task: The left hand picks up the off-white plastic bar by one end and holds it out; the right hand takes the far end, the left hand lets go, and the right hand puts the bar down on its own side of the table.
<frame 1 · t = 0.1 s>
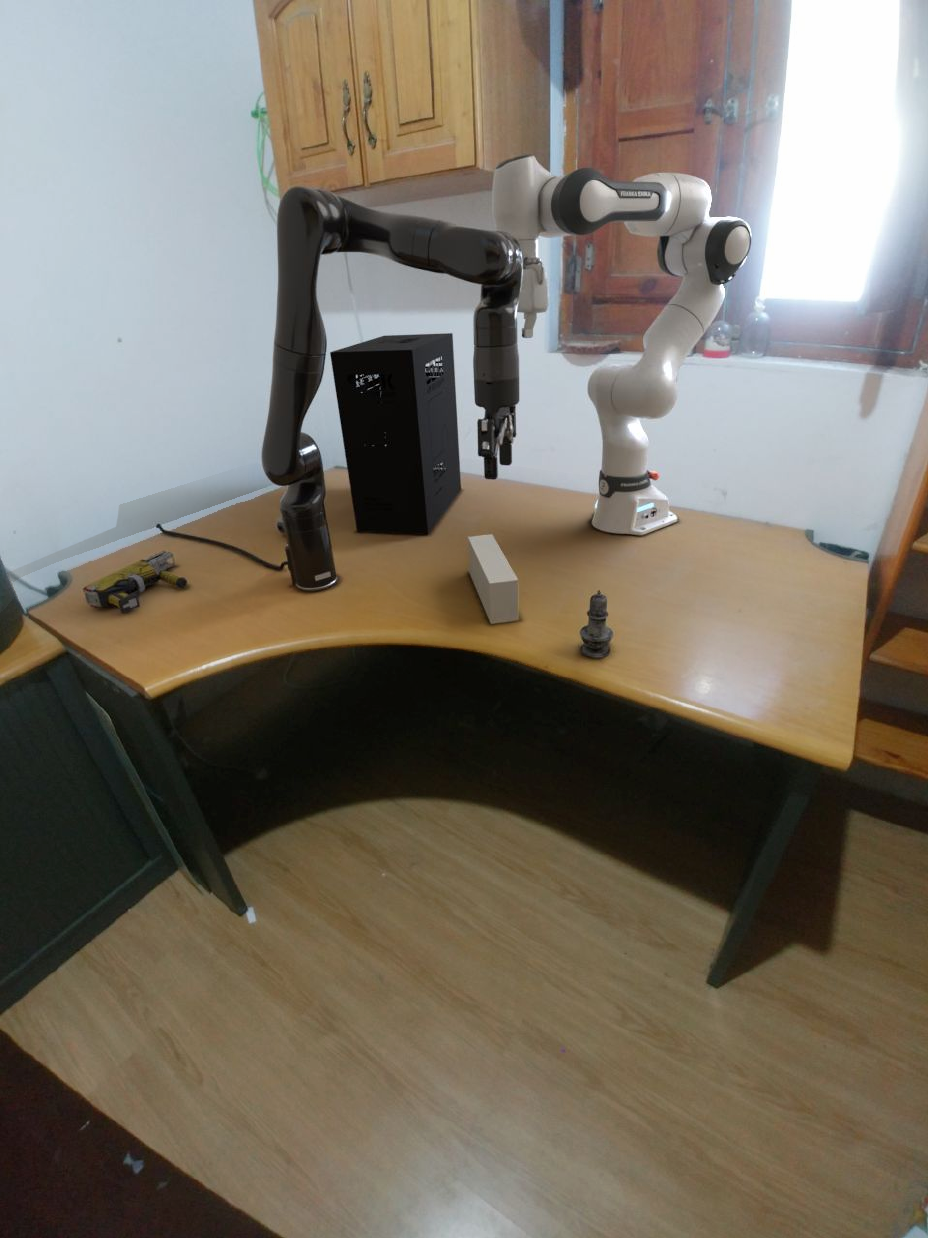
left hand: (498, 471, 107), 29 cm above the table, tool pointing down, fingers open, 8 cm apart
right hand: (516, 336, 125), 48 cm above the table, tool pointing down, fingers open, 8 cm apart
toy gun: (152, 590, 139), on the table
eyeball: (289, 534, 165), on the table
cardboard box: (413, 509, 178), on the table
salt shaker: (595, 650, 108), on the table
bar: (492, 594, 129), on the table
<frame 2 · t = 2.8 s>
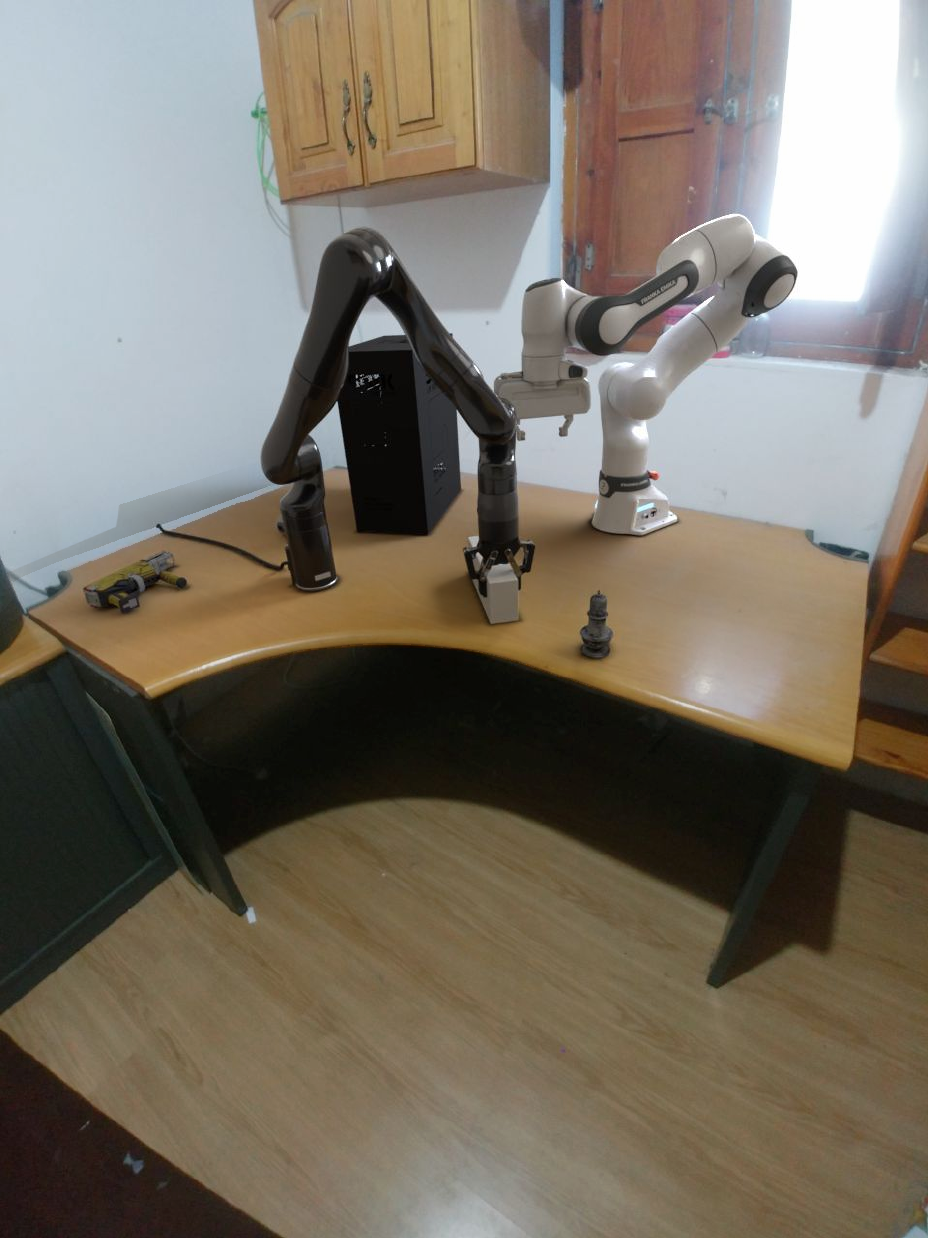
left hand: (500, 593, 119), 4 cm above the table, tool pointing down, fingers closed on bar, 5 cm apart
right hand: (542, 438, 131), 28 cm above the table, tool pointing down, fingers open, 8 cm apart
bar: (492, 594, 128), on the table, touching left hand
everything else where it was.
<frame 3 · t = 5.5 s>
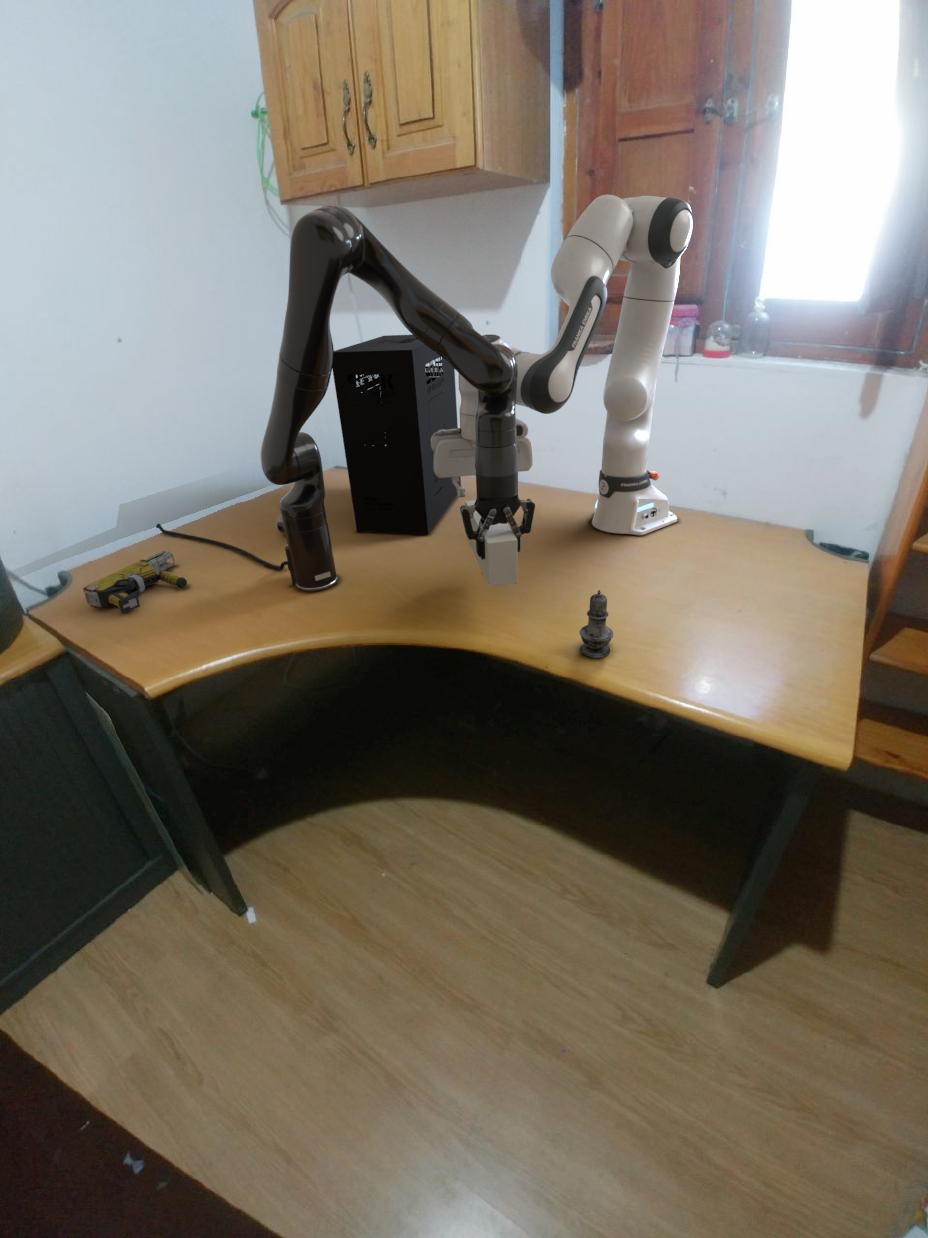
left hand: (498, 555, 115), 13 cm above the table, tool pointing down, fingers closed on bar, 5 cm apart
right hand: (483, 494, 126), 20 cm above the table, tool pointing down, fingers open, 8 cm apart
bar: (490, 559, 124), point 8 cm above the table, touching left hand
everything else where it was.
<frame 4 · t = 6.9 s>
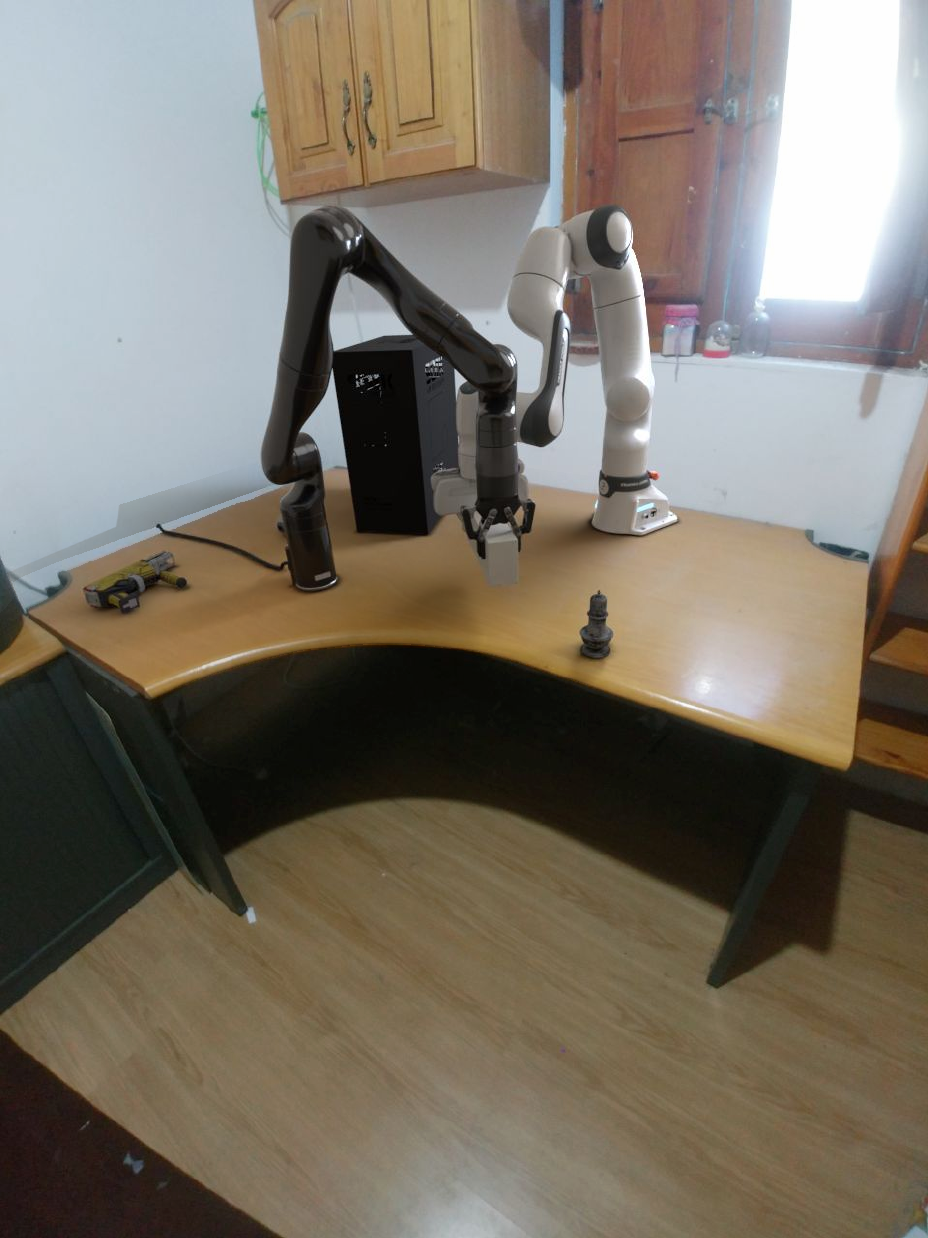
left hand: (499, 555, 115), 13 cm above the table, tool pointing down, fingers closed on bar, 5 cm apart
right hand: (482, 528, 130), 12 cm above the table, tool pointing down, fingers closed on bar, 5 cm apart
bar: (490, 559, 124), point 8 cm above the table, touching right hand, left hand
everything else where it was.
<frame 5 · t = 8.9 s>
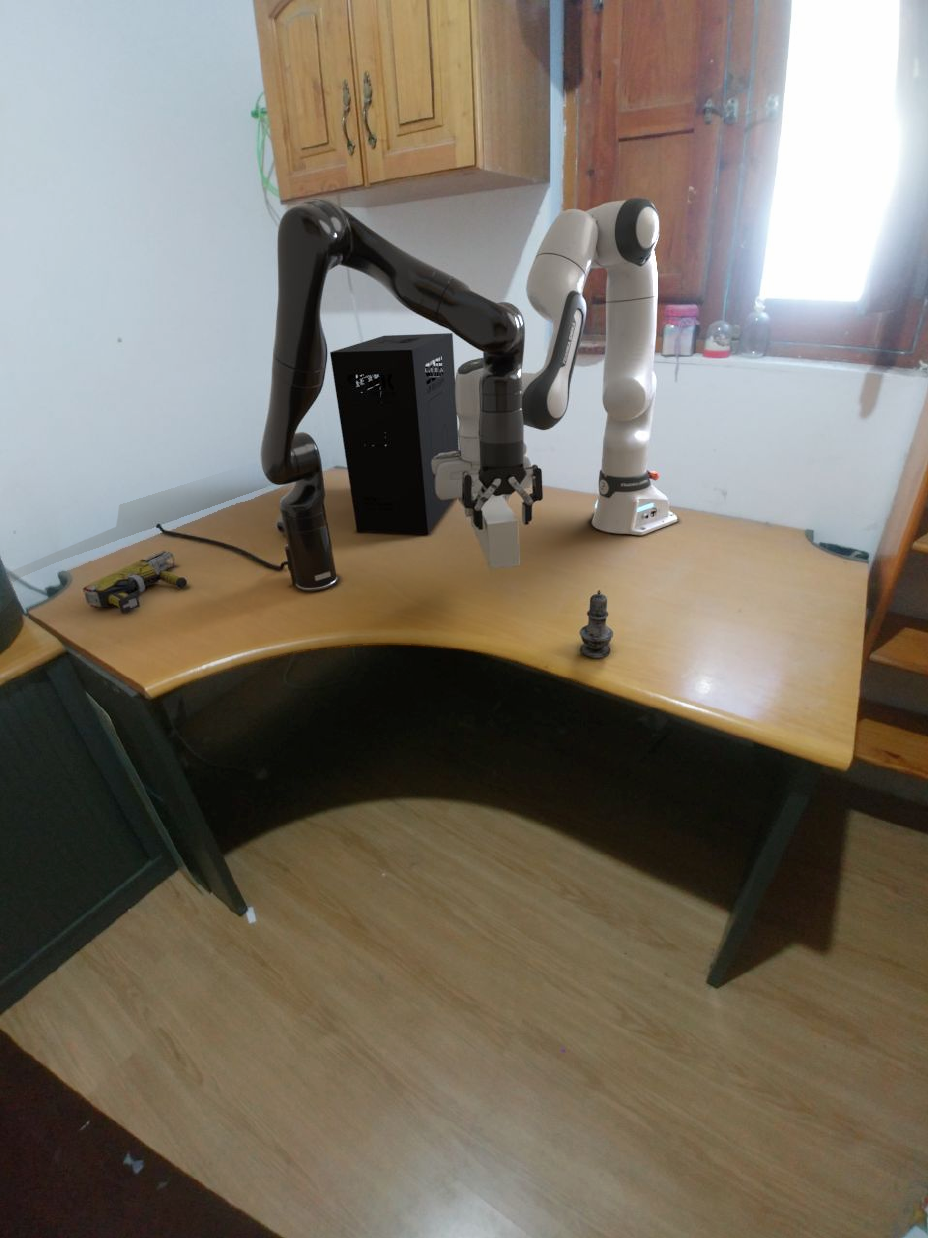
left hand: (502, 525, 110), 19 cm above the table, tool pointing down, fingers open, 8 cm apart
right hand: (485, 513, 127), 16 cm above the table, tool pointing down, fingers closed on bar, 5 cm apart
bar: (493, 543, 122), point 12 cm above the table, touching right hand
everything else where it was.
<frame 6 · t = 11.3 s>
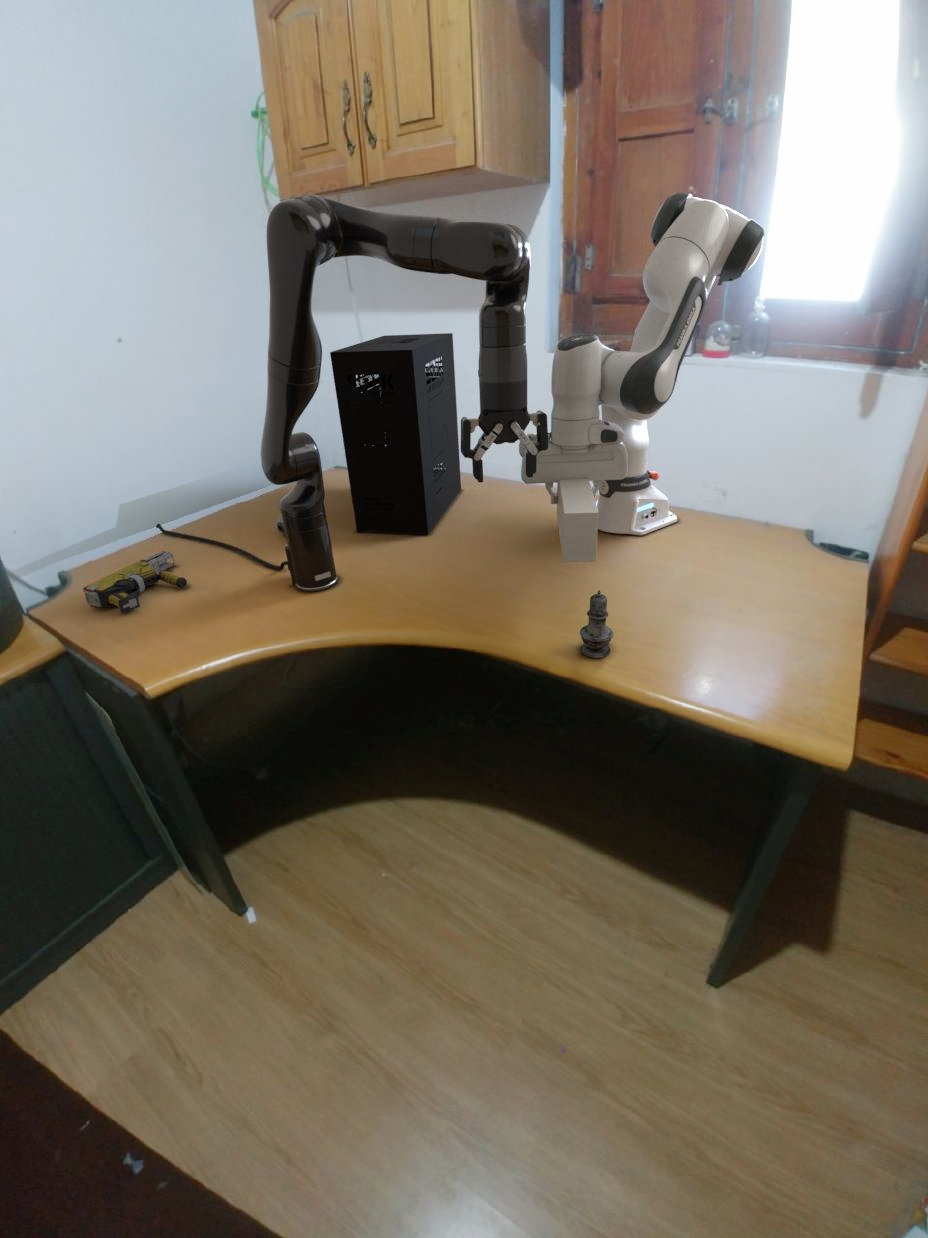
left hand: (504, 478, 102), 29 cm above the table, tool pointing down, fingers open, 8 cm apart
right hand: (572, 502, 120), 19 cm above the table, tool pointing down, fingers closed on bar, 5 cm apart
bar: (574, 535, 114), point 16 cm above the table, touching right hand
everything else where it was.
when the right hand's fingers open (5 cm above the table, at t = 16.0 s): bar stays where it is, on the table.
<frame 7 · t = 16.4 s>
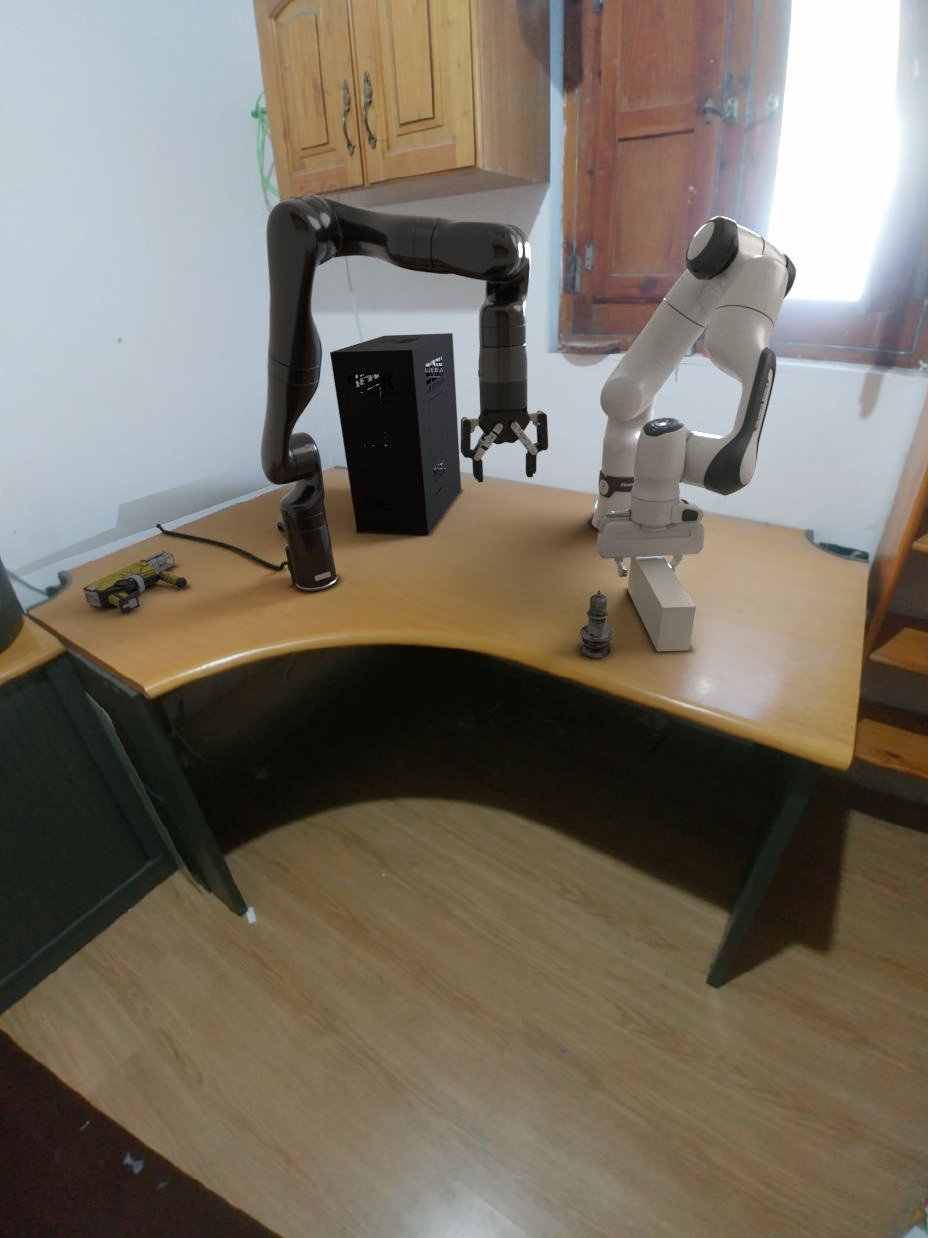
left hand: (504, 478, 102), 29 cm above the table, tool pointing down, fingers open, 8 cm apart
right hand: (645, 574, 121), 5 cm above the table, tool pointing down, fingers open, 8 cm apart
bar: (655, 617, 117), on the table
everything else where it was.
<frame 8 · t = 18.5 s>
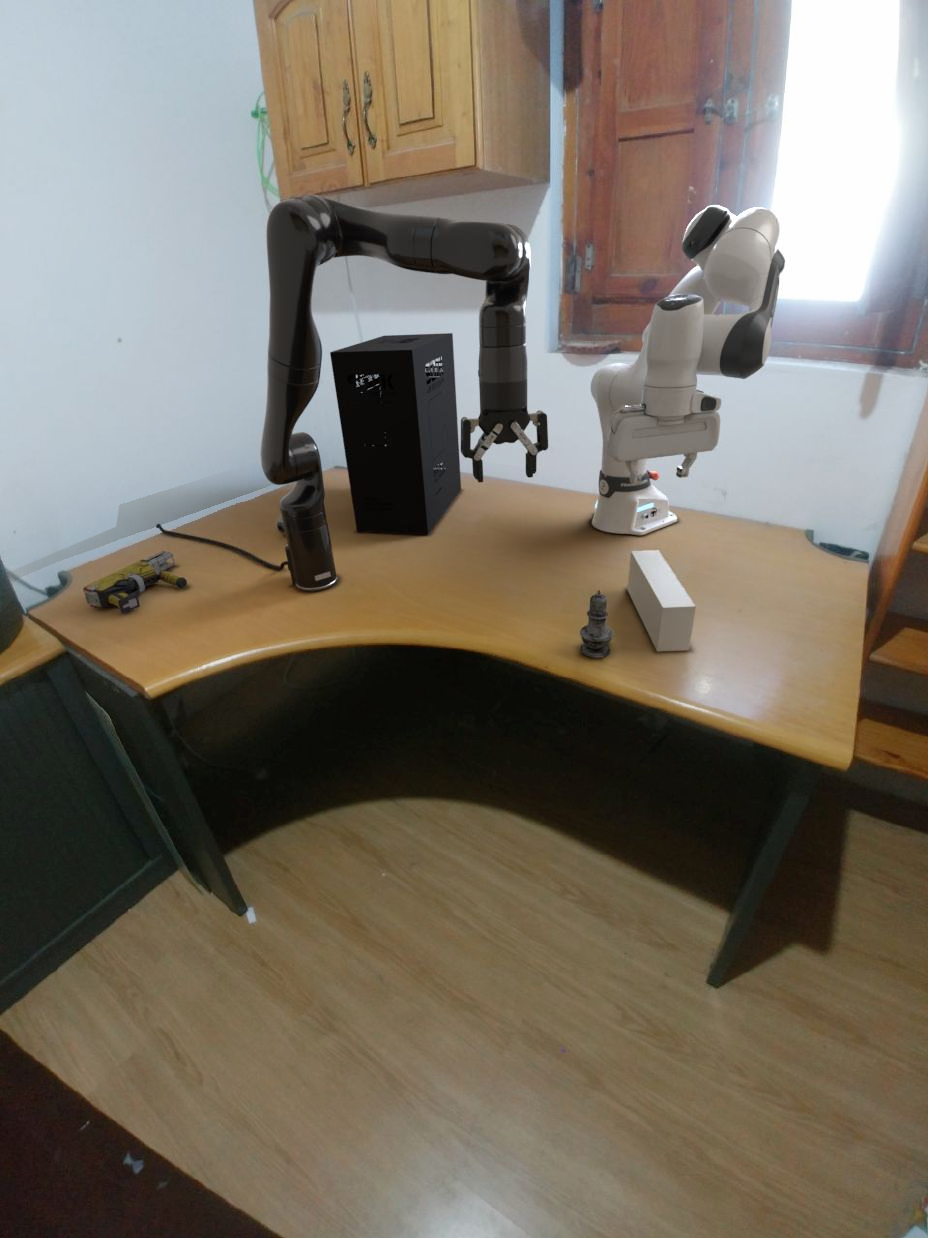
left hand: (504, 478, 102), 29 cm above the table, tool pointing down, fingers open, 8 cm apart
right hand: (658, 479, 111), 25 cm above the table, tool pointing down, fingers open, 8 cm apart
nothing on the table moved.
at the end: bar inside the target area (7.9 cm from its centre), on the table; the left hand is holding nothing; the right hand is holding nothing; bar at rest at the end (0.0 cm/s) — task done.
